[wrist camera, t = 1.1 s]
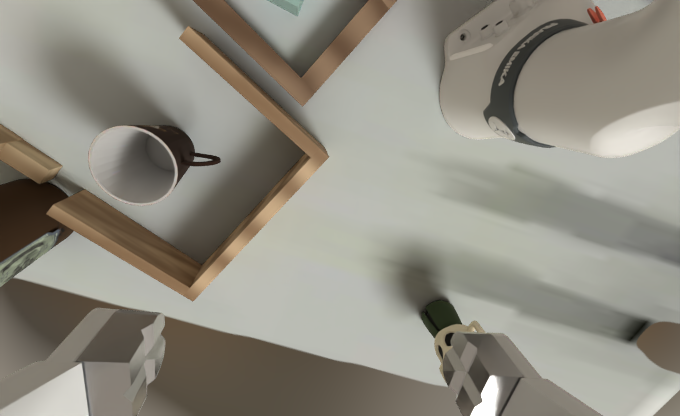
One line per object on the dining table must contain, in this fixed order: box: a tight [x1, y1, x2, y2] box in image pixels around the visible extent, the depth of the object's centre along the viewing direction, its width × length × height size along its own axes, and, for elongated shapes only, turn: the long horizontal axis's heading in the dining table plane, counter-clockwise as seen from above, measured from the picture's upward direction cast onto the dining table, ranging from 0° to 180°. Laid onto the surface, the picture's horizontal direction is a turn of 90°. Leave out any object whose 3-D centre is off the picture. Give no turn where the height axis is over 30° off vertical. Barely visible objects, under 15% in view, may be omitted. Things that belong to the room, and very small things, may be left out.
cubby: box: [46, 26, 329, 301], centre depth 41 cm, size 28×20×6 cm
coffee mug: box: [88, 125, 221, 206], centre depth 38 cm, size 12×9×10 cm
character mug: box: [422, 300, 485, 382], centre depth 52 cm, size 11×7×13 cm, turn 154°
